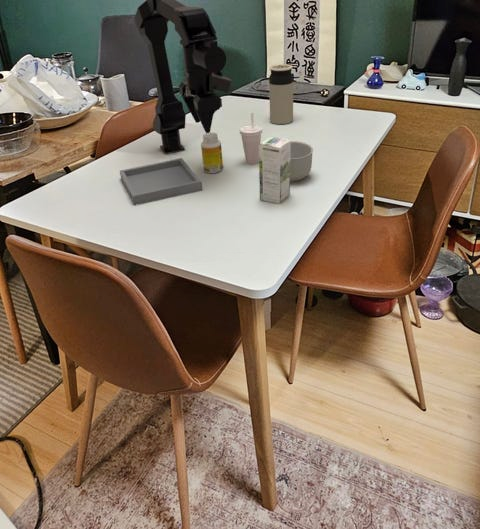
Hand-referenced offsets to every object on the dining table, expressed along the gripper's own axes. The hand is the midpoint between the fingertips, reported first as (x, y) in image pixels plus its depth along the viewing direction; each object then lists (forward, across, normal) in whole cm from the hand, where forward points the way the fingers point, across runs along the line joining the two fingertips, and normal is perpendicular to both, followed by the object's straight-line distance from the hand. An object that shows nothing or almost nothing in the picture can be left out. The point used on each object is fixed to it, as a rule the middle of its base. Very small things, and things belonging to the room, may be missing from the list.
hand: (202, 127), depth 131 cm
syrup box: (+13, -23, -11) cm, 29 cm away
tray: (+13, -2, +14) cm, 19 cm away
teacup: (+13, -13, -18) cm, 26 cm away
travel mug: (+13, +30, -36) cm, 49 cm away
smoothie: (+13, +1, -14) cm, 19 cm away
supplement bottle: (+13, +1, -2) cm, 13 cm away
